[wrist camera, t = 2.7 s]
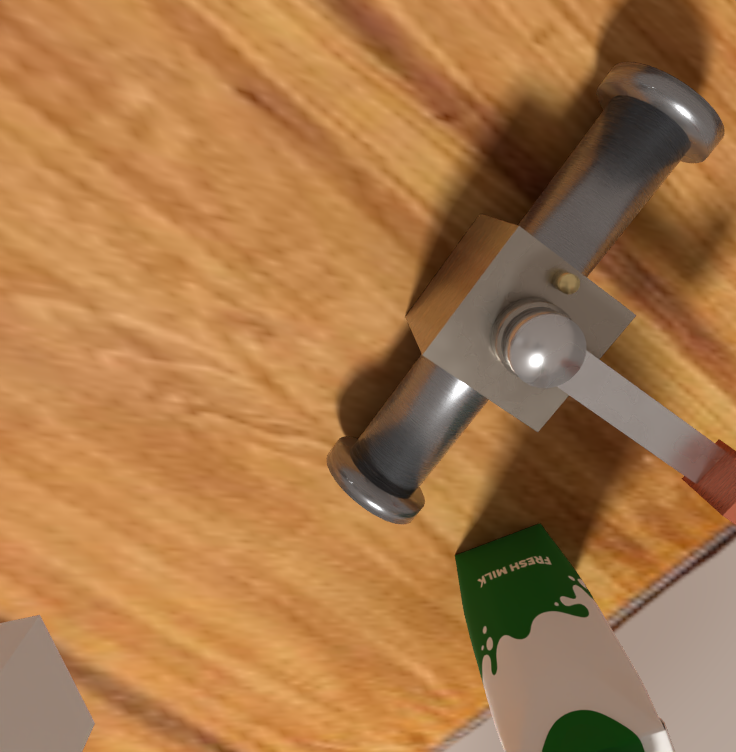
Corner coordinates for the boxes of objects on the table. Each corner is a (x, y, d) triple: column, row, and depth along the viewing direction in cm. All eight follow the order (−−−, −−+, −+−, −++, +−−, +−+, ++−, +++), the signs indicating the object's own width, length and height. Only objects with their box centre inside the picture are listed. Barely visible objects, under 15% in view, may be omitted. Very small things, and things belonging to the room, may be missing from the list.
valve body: (413, 487, 43) (433, 574, 34) (321, 432, 41) (316, 507, 32) (681, 151, 36) (798, 145, 27) (585, 67, 35) (675, 30, 25)
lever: (486, 351, 30) (510, 380, 26) (532, 292, 29) (564, 312, 25) (700, 498, 33) (750, 544, 29) (746, 450, 32) (805, 490, 28)
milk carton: (547, 508, 44) (702, 759, 26) (580, 598, 47) (741, 883, 28) (438, 549, 45) (510, 823, 26) (477, 635, 48) (567, 937, 29)
